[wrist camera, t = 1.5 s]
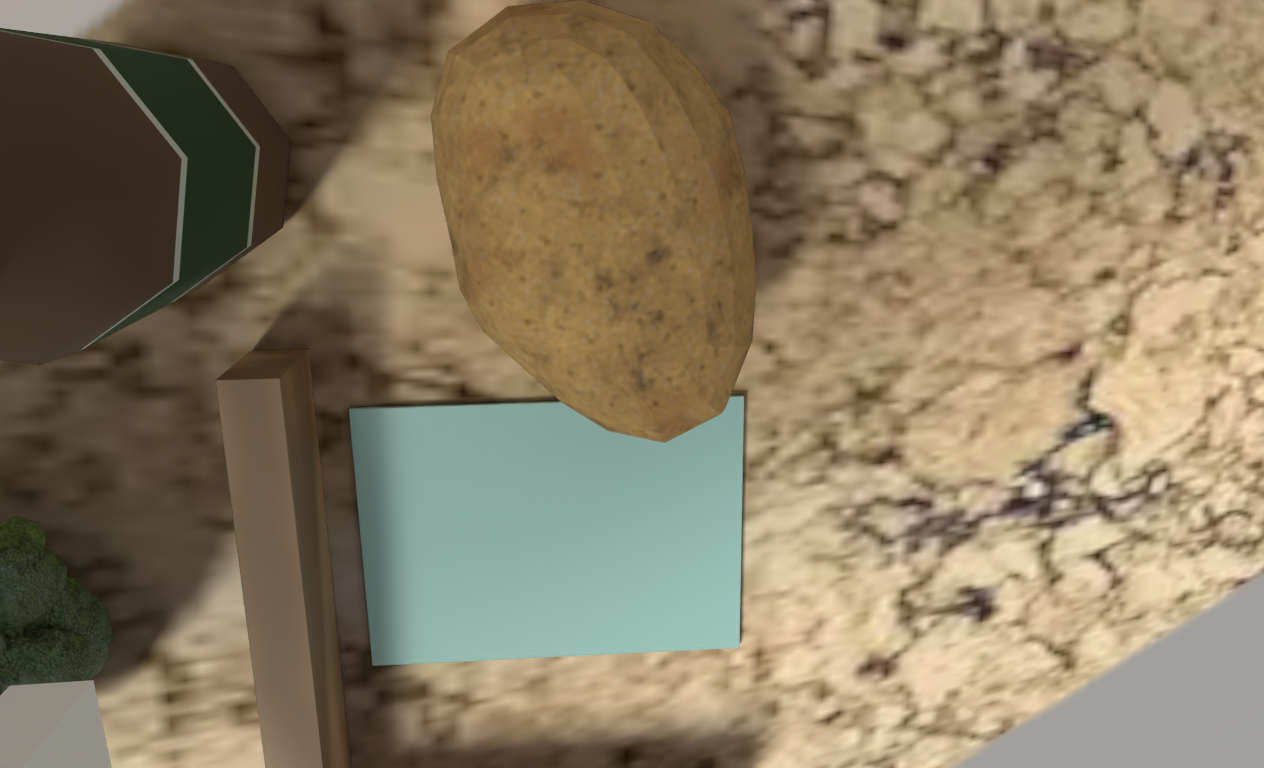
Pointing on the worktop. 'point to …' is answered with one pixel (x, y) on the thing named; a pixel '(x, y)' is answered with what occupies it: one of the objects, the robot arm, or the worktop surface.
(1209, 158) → the worktop surface
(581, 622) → the pad
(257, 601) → the corner arena
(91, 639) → the vegetable
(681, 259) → the potato
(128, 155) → the beer bottle
